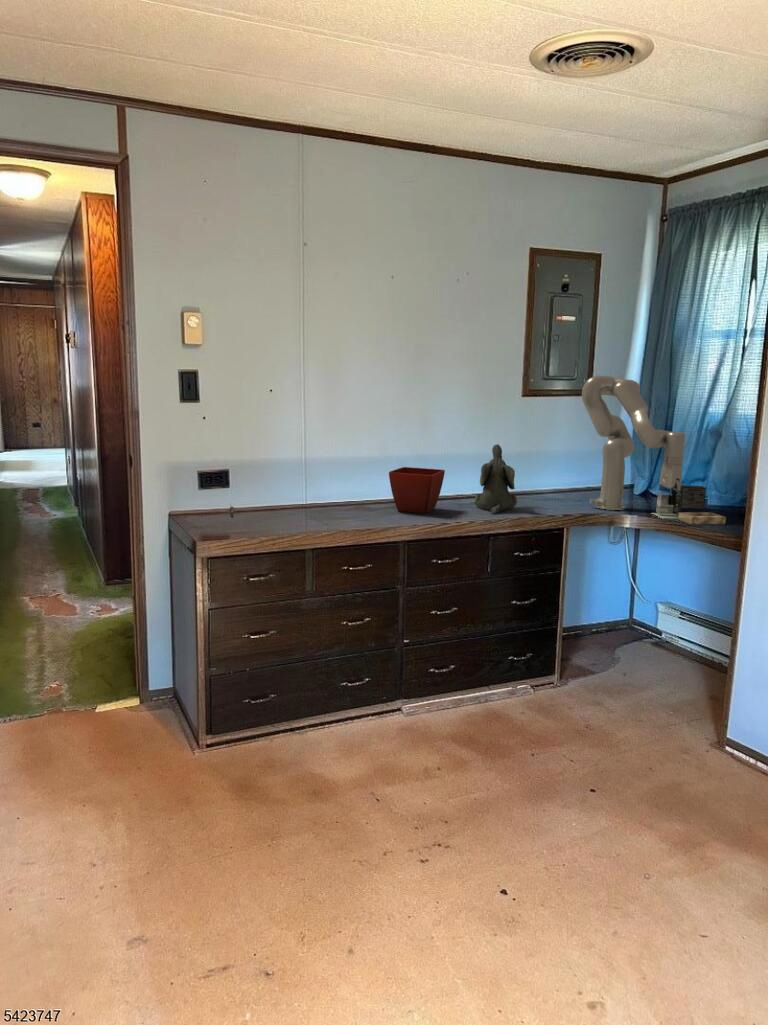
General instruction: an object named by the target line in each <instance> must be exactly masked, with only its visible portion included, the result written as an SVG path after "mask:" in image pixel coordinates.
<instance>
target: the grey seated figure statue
mask: <svg viewBox="0 0 768 1025" xmlns="http://www.w3.org/2000/svg"><path fill="white" fill-rule="evenodd" d="M491 452H492V457H493V458H492V459H490V460H489V462H486V463H483V464H482V466H481V468H480V478H479V484H480V487H482V492H481V493H477V494H476V495H475V497H474V505H475V506H476V507H477V508H479V509H482V510H488V511H490V513H491V514H493V513H495V514H497V513H498V511H500V512H502V511H504V510H510V509H513V508H514V507H515V506H516V505H517V503H518V502H517V501H518V498H517V494H513V493H510V492H509V489H510V490H515V489H516V487H515V472H516V471H515V469H514V468H513V467H511V465H507V463H506V462H505V460H503V450H502V447H501V445H499V444H498V443H497V444H494V445H493V446H492V450H491Z"/></svg>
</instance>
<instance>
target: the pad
mask: <svg viewBox="0 0 768 1025" xmlns="http://www.w3.org/2000/svg"><path fill="white" fill-rule="evenodd" d="M651 514H654V515H656V516H658V517H657V518H659V517H660V518H659V519H661V518H662V520H678V518H679V514H659V513H657V512H651V513H650V515H651ZM654 515H653V516H654ZM656 516H655V517H656Z"/></svg>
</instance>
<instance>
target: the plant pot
mask: <svg viewBox="0 0 768 1025" xmlns="http://www.w3.org/2000/svg"><path fill="white" fill-rule="evenodd" d="M445 471H446V470H445V469H441V468H440V469H438V468H437V469H436V468H427V467H424V468H423V467H413V466H411V467H410V466H409V467H408V466H402V467H400V468H396V469H394V470H391V471H390V470H389V471H388V479H389V484H390V489H391V493H392V497H393V501H394V503H395V507H396V510H397V511H398V512H407V513H419V514H427V513H429V512H431V511H432V510H434V509H435V508H436V506H437V503H438V500H439V497H440V493H441V491H442V487H443V483H444V478H445V473H446V472H445Z"/></svg>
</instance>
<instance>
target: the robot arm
mask: <svg viewBox="0 0 768 1025" xmlns="http://www.w3.org/2000/svg"><path fill="white" fill-rule="evenodd" d="M640 393H641V387H640V385H639V383H638V382H637V381H635V380H633V379H627V378H626V379H625V378H621V377H616V376H611V375H595V376H592V377H589V378H588V379H587V380H586V381H585V383H584V385H583V386H582V390H581V400H582V402H583V404H584V407H585V409H586V411H587V413H588V415H589V418H590V420H591V422H592V424H593V427H594V429H595V431H596V433H597V434H598V435H599V436H600V437H602V438H608V439H607V440H606V441H605V442H604V444H603V446H602V470H601V471H602V474H601V487H600V495H599V496H598V497H597V498H596V499H595V498H594V499H592V498H590V499H589V504H590V505H591V504H593V505H594V504H595V508H597V509H599V508H600V510H604V509H606V510H605V511H614V510H620V511H624V510H623V509H626V506H625V505H623V495H624V488H625V487H624V486H625V477H626V476H625V474H626V461H625V459H626V458H629V457H630V456H631V455H632V454H633V453H634V450H635V444H634V441H633V439H632V436H631V435H630V433H629V430H628V428H627V426H626V424H625V422H624V419H622V418H621V417H620V416H618V415H614V414H613V415H612V413H611V412H610V409H609V407H608V405H607V403H606V401H604V399H603V397H602V396H610V397H616V399H617V400H618V402H619V403H620V404H621V406H622V407H623V409H624V411H625V412H626V413H627V415H628V416H629V419H630V422H631V425H632V427H633V430H634V431H635V433H636V435H637V437H638V438H639V439H640V441H641V443H642V444H643V445H644V446H646V448H649V449H657V448H664V454H663V464H662V466H661V470H660V476H659V483H658V485H659V484H662V486H663V487H665V488H669V489H670V495H669V499H668V505H675V504H676V496H677V493H678V492H679V491H680V490H681V489H680V487H681V485H682V481H683V480H682V478H683V467H682V466H683V462H684V452H685V441H686V434H685V433H684V432H682V431H681V432H680V431H669V430H666V429H665V430H664V429H656V428H655V427H654V426H653V424H652V422H651V421H650V419H649V415H648V411H649V406H648V404H647V403H646V401H645V400H644V399H643V397H642V395H641V394H640ZM673 487H674V488H673ZM673 490H674V491H673Z"/></svg>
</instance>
